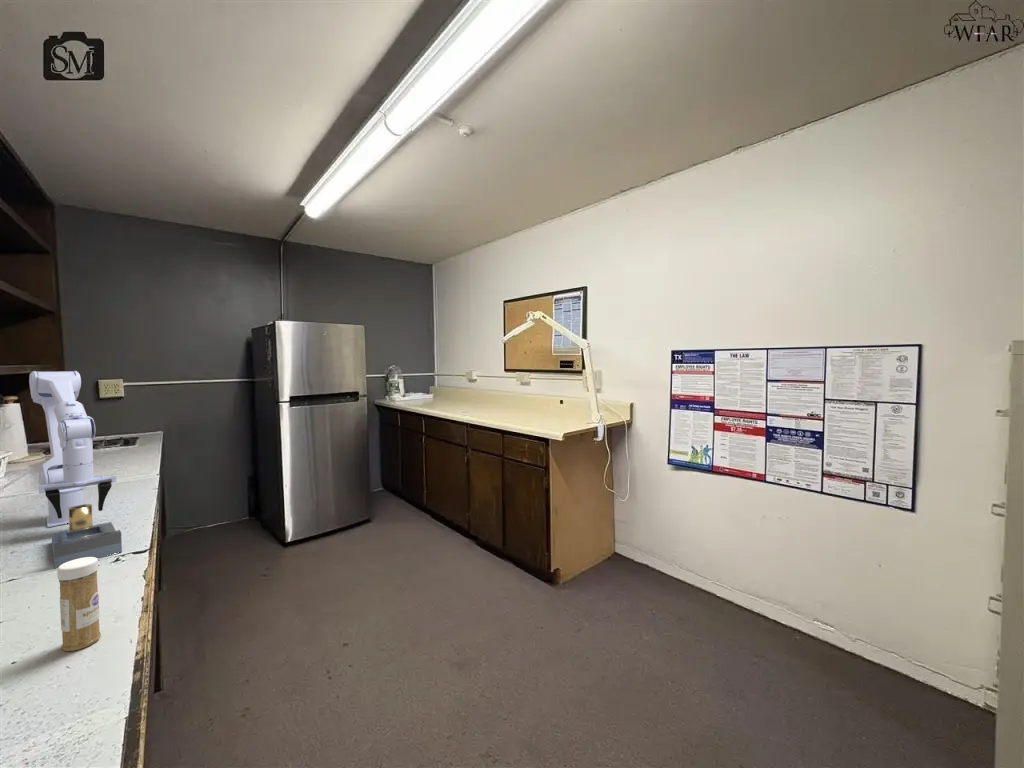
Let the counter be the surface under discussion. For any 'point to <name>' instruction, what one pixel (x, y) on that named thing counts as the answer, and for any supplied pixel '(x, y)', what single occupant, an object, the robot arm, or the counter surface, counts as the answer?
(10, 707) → the counter surface
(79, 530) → the plate
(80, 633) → the sprinkles bottle
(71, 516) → the bushing
